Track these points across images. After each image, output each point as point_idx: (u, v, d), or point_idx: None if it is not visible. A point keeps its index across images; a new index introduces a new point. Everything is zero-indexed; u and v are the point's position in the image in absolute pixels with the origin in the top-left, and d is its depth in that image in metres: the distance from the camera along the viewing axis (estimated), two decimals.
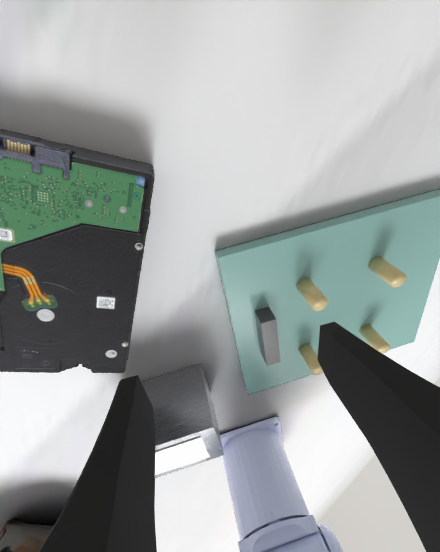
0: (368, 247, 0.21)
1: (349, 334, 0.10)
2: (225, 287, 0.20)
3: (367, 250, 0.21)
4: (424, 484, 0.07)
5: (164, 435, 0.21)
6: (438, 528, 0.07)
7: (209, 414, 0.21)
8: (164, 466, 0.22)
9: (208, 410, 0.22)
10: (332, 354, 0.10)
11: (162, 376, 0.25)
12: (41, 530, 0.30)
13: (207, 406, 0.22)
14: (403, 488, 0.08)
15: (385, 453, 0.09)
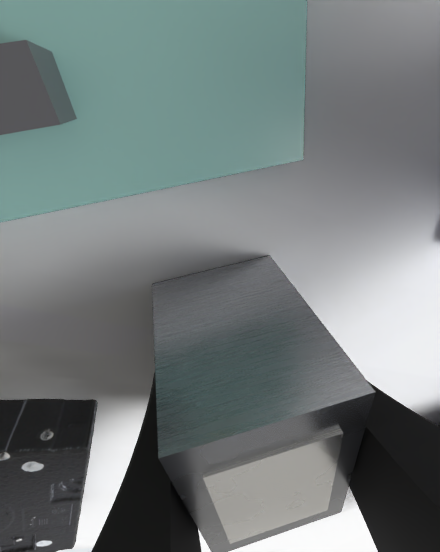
0: None
1: None
2: None
3: None
4: (379, 500, 0.07)
5: None
6: (392, 545, 0.07)
7: (157, 411, 0.06)
8: (303, 503, 0.08)
9: (157, 398, 0.07)
10: None
11: None
12: None
13: (156, 386, 0.07)
14: (363, 502, 0.08)
15: None
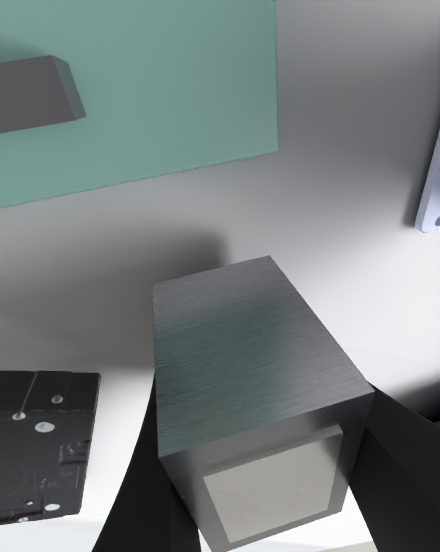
0: None
1: None
2: None
3: None
4: (379, 500, 0.07)
5: None
6: (392, 545, 0.07)
7: (157, 411, 0.06)
8: (303, 502, 0.08)
9: (157, 398, 0.07)
10: None
11: None
12: None
13: (156, 386, 0.07)
14: (363, 502, 0.08)
15: None
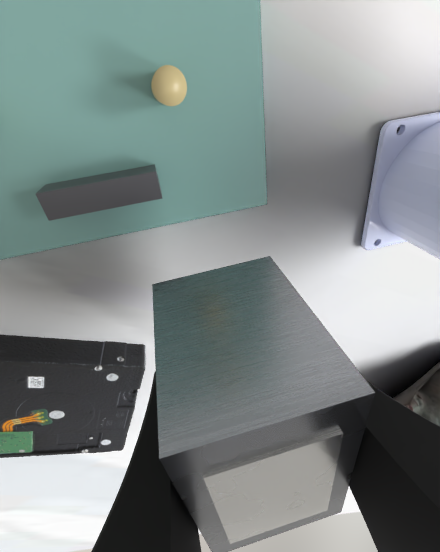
0: None
1: None
2: (13, 255, 0.14)
3: None
4: (379, 500, 0.07)
5: None
6: (392, 545, 0.07)
7: (158, 411, 0.06)
8: (303, 503, 0.08)
9: (157, 399, 0.07)
10: None
11: None
12: None
13: (157, 387, 0.07)
14: (363, 502, 0.08)
15: None
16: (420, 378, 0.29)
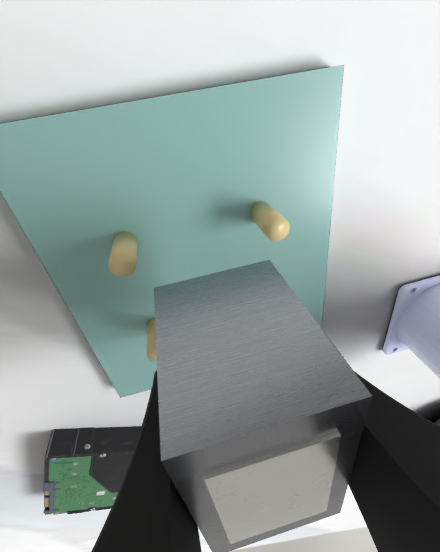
0: (99, 262, 0.15)
1: None
2: None
3: (104, 261, 0.15)
4: (379, 500, 0.07)
5: None
6: (392, 545, 0.07)
7: (160, 414, 0.06)
8: (302, 504, 0.08)
9: (159, 402, 0.07)
10: None
11: None
12: None
13: (158, 390, 0.07)
14: (363, 502, 0.08)
15: None
16: None
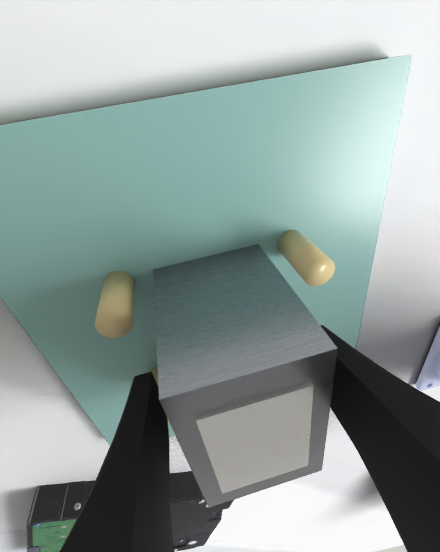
0: (85, 308, 0.12)
1: (336, 338, 0.10)
2: None
3: (92, 307, 0.12)
4: (406, 490, 0.07)
5: None
6: (420, 534, 0.07)
7: (158, 367, 0.07)
8: (284, 455, 0.09)
9: None
10: None
11: None
12: None
13: (157, 349, 0.08)
14: (387, 493, 0.08)
15: (370, 458, 0.09)
16: None
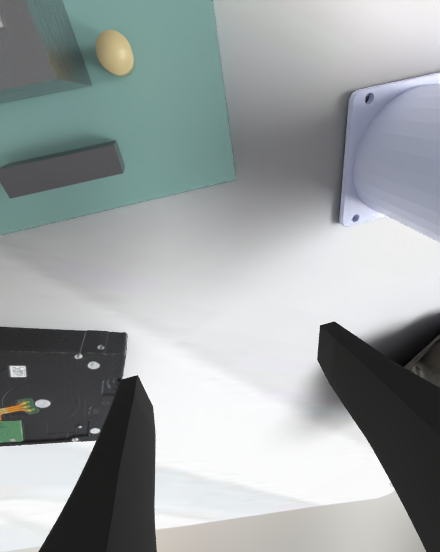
0: None
1: (349, 334, 0.10)
2: None
3: None
4: (424, 484, 0.07)
5: None
6: (438, 528, 0.07)
7: None
8: None
9: None
10: (332, 354, 0.10)
11: None
12: None
13: None
14: (403, 488, 0.08)
15: (385, 453, 0.09)
16: None
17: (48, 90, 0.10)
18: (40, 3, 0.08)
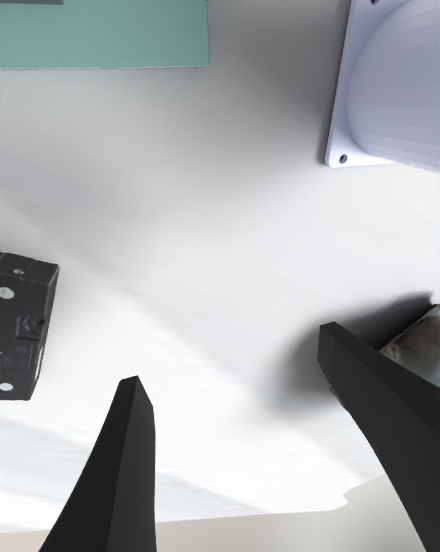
0: None
1: (349, 334, 0.10)
2: None
3: None
4: (424, 484, 0.07)
5: None
6: (438, 528, 0.07)
7: None
8: None
9: None
10: (332, 354, 0.10)
11: None
12: None
13: None
14: (403, 488, 0.08)
15: (385, 453, 0.09)
16: None
17: None
18: None
